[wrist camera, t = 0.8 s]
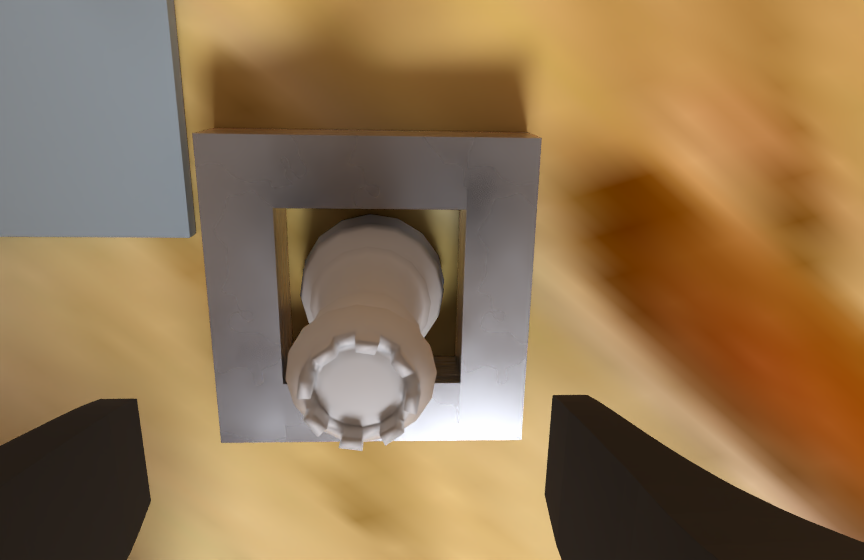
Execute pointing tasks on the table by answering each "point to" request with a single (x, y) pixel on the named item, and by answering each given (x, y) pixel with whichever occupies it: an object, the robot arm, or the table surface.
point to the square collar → (367, 189)
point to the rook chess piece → (366, 331)
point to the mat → (92, 120)
